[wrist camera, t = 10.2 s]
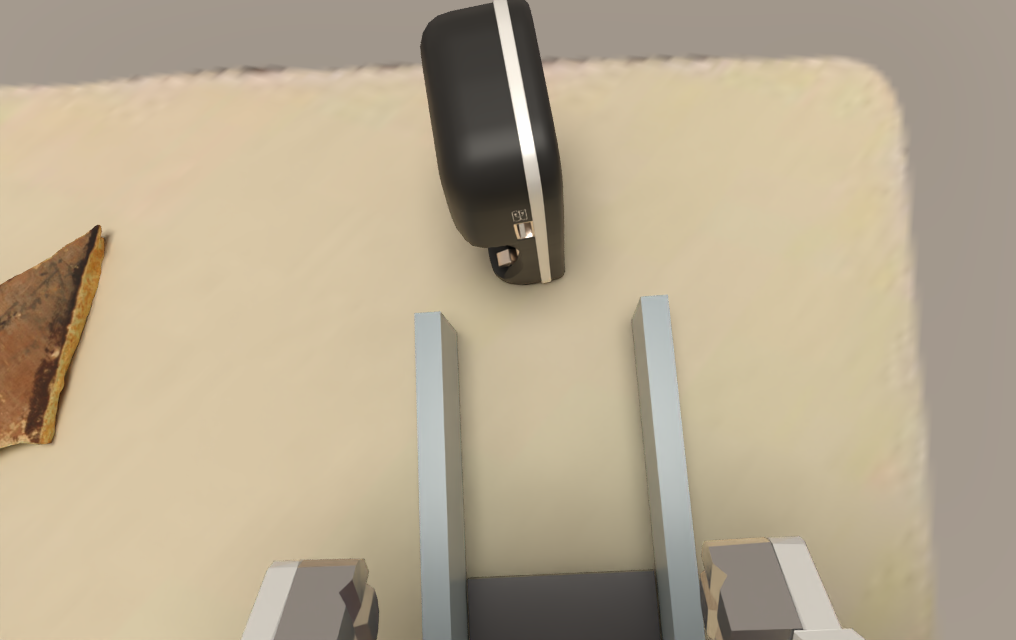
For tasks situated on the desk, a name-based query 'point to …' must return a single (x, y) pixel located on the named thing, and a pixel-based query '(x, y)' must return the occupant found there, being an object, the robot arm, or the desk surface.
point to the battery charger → (496, 137)
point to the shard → (43, 336)
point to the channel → (569, 596)
